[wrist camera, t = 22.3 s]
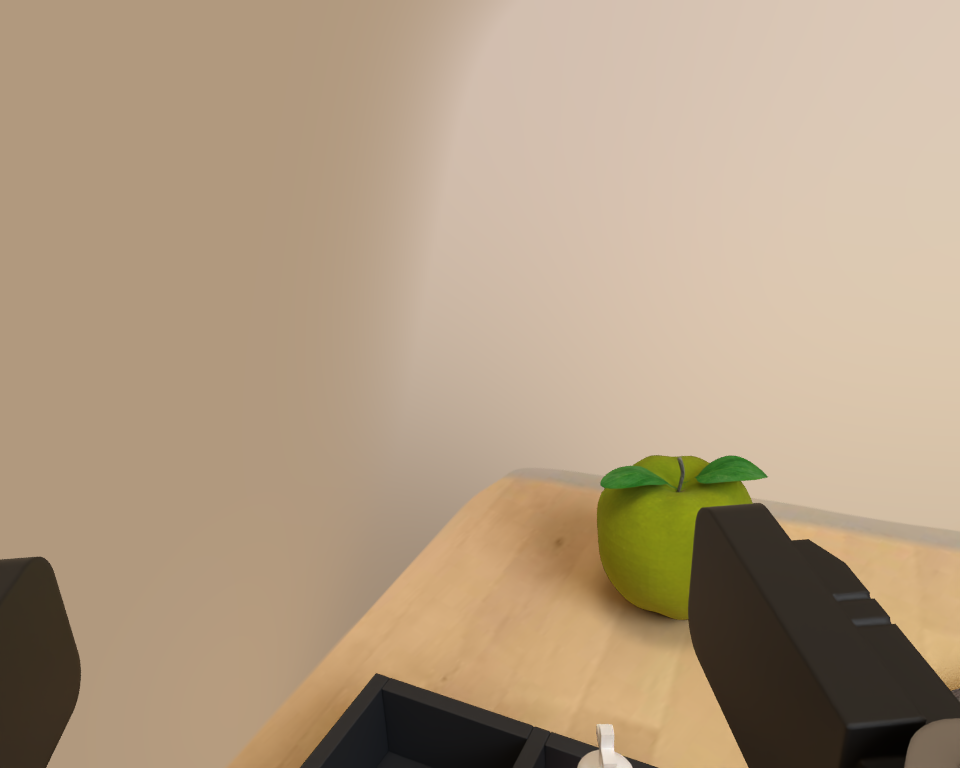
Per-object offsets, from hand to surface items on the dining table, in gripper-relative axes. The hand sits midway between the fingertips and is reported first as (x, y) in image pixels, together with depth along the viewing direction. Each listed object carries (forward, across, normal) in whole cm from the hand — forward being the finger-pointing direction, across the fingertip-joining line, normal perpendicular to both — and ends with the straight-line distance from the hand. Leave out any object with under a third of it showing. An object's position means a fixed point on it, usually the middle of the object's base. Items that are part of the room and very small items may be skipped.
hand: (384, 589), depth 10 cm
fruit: (+31, -15, +26) cm, 43 cm away
